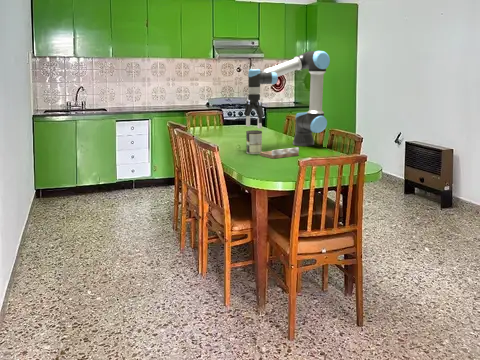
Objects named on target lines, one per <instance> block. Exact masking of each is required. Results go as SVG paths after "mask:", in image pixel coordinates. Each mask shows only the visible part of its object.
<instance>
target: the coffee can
mask: <svg viewBox="0 0 480 360" xmlns="http://www.w3.org/2000/svg"><path fill="white" fill-rule="evenodd" d="M245 132H246V136H245V137H246V146H245V147H246V154H249V155H260V152H263V151H262V150H263V149H262V148H263V131H262V130H257V129H255V130H253V129H252V130H247V131H245Z"/></svg>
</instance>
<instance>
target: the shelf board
mask: <svg viewBox="0 0 480 360" xmlns="http://www.w3.org/2000/svg"><path fill="white" fill-rule="evenodd" d="M299 154H300V148H299V146H297V147H291V148H290V147H289V148H282V149H273V150H267V151H262V152H260V154H259V156H261V157H264V158H265V157H266V158H268V159H269V158H270V159H281V158H288V157H298V156H300V155H299Z"/></svg>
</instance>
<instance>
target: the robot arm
mask: <svg viewBox="0 0 480 360" xmlns="http://www.w3.org/2000/svg"><path fill="white" fill-rule="evenodd" d="M330 62H331V58H330V55H329V54H328V53H327V52H326V51H324V50H314V51H313V50H310V51H306V52H303V53H301V54H299V55H297V56H294V57H293V59H290V60H287V61H284V62H281V63H279V64H276V65H273V66H270V67H267V68H265V69H262V70H261V69H260V68H254V69H253V68H250V69H249V70H248V76H247V77H248V78H247V79H248V90H247V91H248V92H247V93H248V95H247V96H248V97H247V99H248V100H247V101H246V106H245V109H244V113H243V115H244V116H245V125H246V127H251V113H252V111H253V109H254V110H255V112H256V115H257V129H263V128H262V127H263V125H262V123H263V118H264V117H265V114H264V110H263V104H262V103H263V102H261V101H260V100H261V95H260V94H261V85H275V84H277V82H278V79H279V78H278V77H280V76H281V77H282V76H284V75H286V74H290V73H292V72H295V71H301V70H307V69H308V73H309V74H310V79H309V80H310V85H309V86H310V87H309V108H308V109H309V110H308V111H305V112H304V111H303V112H297V113H296V114H295V133H294V134H295V135H294V137H293V139H292V140H293V141H292V145H293V146H297V147H299V146H300V147H310V146H314V145H315V140H314V137H313V136H314V135H313V133H316V134H317V133H321V132H324V130H325V129H326V128H327V125H328V120H327V118H326V117H325V112H324V111H323V98H324V96H323V94H324V93H323V91H324V75H325V74H326V73H327V68H329V65H330V64H331V63H330Z"/></svg>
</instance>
